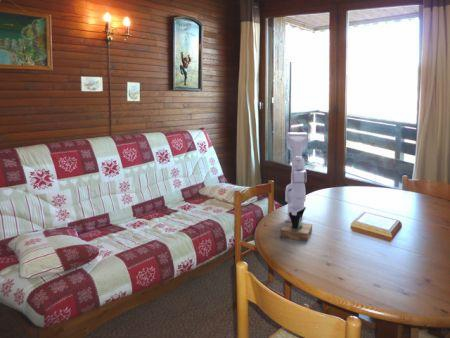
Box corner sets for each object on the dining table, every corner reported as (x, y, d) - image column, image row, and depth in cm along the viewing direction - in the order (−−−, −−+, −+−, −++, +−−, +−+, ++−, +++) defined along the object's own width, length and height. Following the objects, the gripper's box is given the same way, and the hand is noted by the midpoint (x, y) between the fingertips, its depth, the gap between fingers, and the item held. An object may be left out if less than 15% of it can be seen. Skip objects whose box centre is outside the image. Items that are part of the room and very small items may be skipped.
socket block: (286, 227, 187) (286, 220, 186) (312, 231, 182) (312, 224, 181) (280, 237, 176) (280, 230, 175) (307, 241, 171) (307, 233, 171)
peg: (295, 232, 181) (296, 214, 179) (301, 234, 179) (302, 215, 177) (292, 234, 179) (292, 215, 177) (297, 236, 177) (298, 217, 175)
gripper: (292, 191, 183) (291, 218, 186) (285, 200, 170) (284, 229, 173) (307, 192, 180) (306, 220, 183) (301, 202, 167) (300, 231, 170)
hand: (296, 225), depth 178 cm, fingers open, 7 cm apart
